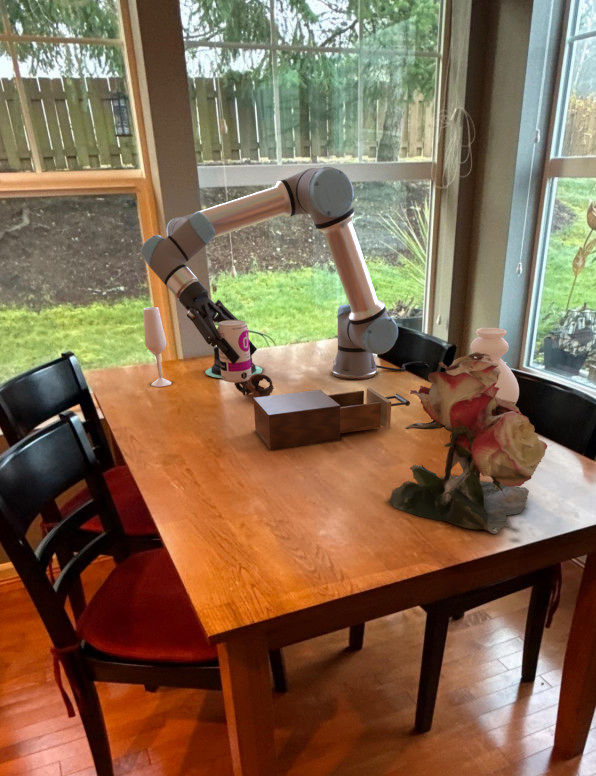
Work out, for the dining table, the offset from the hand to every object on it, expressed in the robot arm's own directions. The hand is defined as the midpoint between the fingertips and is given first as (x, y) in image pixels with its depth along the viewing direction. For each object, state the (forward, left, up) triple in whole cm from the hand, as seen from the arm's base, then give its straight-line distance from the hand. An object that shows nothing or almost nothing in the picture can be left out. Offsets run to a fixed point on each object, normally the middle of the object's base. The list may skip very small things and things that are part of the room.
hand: (245, 356), depth 168 cm
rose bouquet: (-31, +66, -18) cm, 75 cm away
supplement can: (+2, -2, -7) cm, 7 cm away
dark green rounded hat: (-7, -51, -18) cm, 55 cm away
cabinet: (-9, +17, -18) cm, 26 cm away
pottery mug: (-7, -19, -18) cm, 27 cm away
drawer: (-27, +17, -17) cm, 36 cm away
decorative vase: (-58, +28, -18) cm, 66 cm away
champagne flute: (+18, -46, -18) cm, 53 cm away
